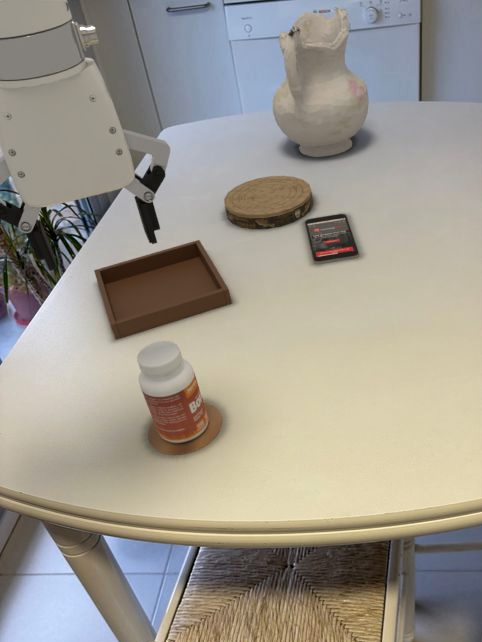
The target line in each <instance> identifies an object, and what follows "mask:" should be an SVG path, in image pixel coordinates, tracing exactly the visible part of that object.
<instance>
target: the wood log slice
mask: <svg viewBox="0 0 482 642" xmlns="http://www.w3.org/2000/svg"><path fill="white" fill-rule="evenodd" d="M312 192H313V191H312V188H311V184H310V183H308V182H307V181H306V180H305V179H302V178H299V177H295V176H290V175H270V176H269V175H268V176H265V177H264V176H263V177H257V178H254V179H250V180H247V181H245V182H243V183H241V184H238V185H237V186H234V187H233V188H232V189H231V190H229V191H228V192H227V194H226V195H225V196H224V198H223V202H224V208H225V213H226V217H227V220H228V221H229V222H230V223H231V225H235V227H236V226H237V227H239V228H241V229H248V230H270V229H276V228H281V227H284V226H288V225H290V224H293V223H296V222H297V221H299V220H301V219H303V218H305V216H306V215H308V214H309V213H310V212H311V211H312V208H313V205H314V201H313V193H312Z"/></svg>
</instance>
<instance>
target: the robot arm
mask: <svg viewBox="0 0 482 642" xmlns="http://www.w3.org/2000/svg"><path fill="white" fill-rule="evenodd" d="M98 44H100V42H99V37H98V34H97V31H96V27H95V24H88V25H84V24H83V23H82V24H79V23H78V21H74V19H73V16H72V12H71V9H70V6H69V3H68V0H0V150H1V152H2V156H1V157H0V186H2V185H3V184H4V183H5V182H6V181H7V180H8V179H9V178H11V180H12V182H13V184H14V187H15V189H16V191H17V194H18V195H19V197H20V199H21V202H20V204H19V206H17V205H16V204H14V203H12V202H9V201H7V200H5V199H3V198H1V197H0V220H1V221H3V222H5V223H6V224H7V223H8V224H9V225H11V226H14V227H16V228H18V229H19V230H20V232H22V233H23V234H25V235H26V237H27V239H28V242H29V245H30V246H31V249H32V251H33V253H34V256H35V257H36V260H37V262H39V261H43V260H44V261H45V264H46V266H47V268H48V270H49V272H52V271H55V270H56V269H57V268H58V266H57V260H56V255H55V253H54V251H53V248H52V246H51V243H50V240H49V239H48V236H47V233H46V230H45V228H44V226H43V223H42V221H41V219H38V218H39V215H40V213H41V211H42V208H46V207H52V206H56V205H57V206H58V205H61V204H65V203H70V202H75V201H78V200H82V199H86V198H91V197H94V196H98V195H102V194H106V193H111V192H114V191H117V190H121V189H123V188H124V189H125V190H127V191H128V192H129V193H131V194H132V195H134V201H135V204H136V208H137V211H138V214H139V217H140V221H141V225H142V227H143V230H144V233H145V236H146V238H147V240H148V242H149V244H152V245H155V244H158V239H157V237H156V233H155V231H159V230H161V226H160V225H161V224H160V222H159V218H158V215H157V211H156V208H155V204H154V201H155V199H156V194H157V192H158V190H159V188H160V187H161V185H162V184H163V182H164V180H165V178H166V170H167V167H168V163H169V160H170V154H171V147H170V145H169V143H168V142H167V141H166V140H164V139H161V138H157V137H153V136H149V135H146V134H143V133H139V132H136V131H132V130H128V129H124V128H122V124H121V121H120V118H119V116H118V113H117V110H116V107H115V105H114V101H113V100H112V97H111V95H110V92H109V90H108V87H107V84H106V82H105V80H104V78H103V75H102V73H101V71H100V69H99V67H98V65H97V63H96V61H95V59H93V58H91V57H86V56H85V54H84V53H86V52H87V48H91V46H93V45H98ZM130 150H133V151H136V152H140V153H144V154H147V155H150V156H151V159H150V161H151V162H150V164H149V166H148V167H147V169H146V171H145V173H144V175H143V176H141V175H139V174H138V173H136V172H135V167H134V162H133V159H132V155H131V151H130Z"/></svg>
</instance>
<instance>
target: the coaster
mask: <svg viewBox="0 0 482 642" xmlns="http://www.w3.org/2000/svg"><path fill="white" fill-rule="evenodd" d="M204 405H205V408H206V411H207V415H208V425H207V427H206V429H205V430H204V431H203V433H201V434H200V435H199V436H198V437H196V438H194V439H192V440H190V441H187V442H182V443H173V442H169V441H166V440H165V439H163V438H162V437H161V436H160V435H159V433H158V431H157V428H156V426H155V423H154V421H153V420H152V421H151V423H150V425H149V427H148V431H147V439H148V441H149V444H150V445H151V447H152V448H153V449H154V450H156V451H157V452H159V453H161V454H165V455H169V456H180V455H181V456H182V455H188V454H191V453H194V452H197V451H200V450H201V449H203V448H205V447H206V446H208V445H209V444H211V443H212V442H213V441H214V440H215V439H216V438H217V437H218V435H219V434H220V432H221V430H222V427H223V418H222V414H221V412H220V411H219V410H218V409H217V408H216V407H215V406H213V405H212V404H210V403H208V402H204Z"/></svg>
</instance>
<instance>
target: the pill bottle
mask: <svg viewBox="0 0 482 642" xmlns="http://www.w3.org/2000/svg"><path fill="white" fill-rule="evenodd" d="M136 361H137V364H138V366H139V369H140V373H139V375H138V384H139V388H140V391H141V392H142V395H143V398H144V400H145V402H146V405H147V408H148V410H149V413H150V415H151V418H152V421H154V423H155V426H156V428H157V431H158V433H159V435H160V436H161V437H162V438H163V439H165V440H166V441H169V442H173V443H182V442H187V441H190V440H192V439H194V438H196V437H198V436H199V435H200V434H201V433H203V431H204V430H205V429H206V427H207V425H208V415H207V411H206V408H205V405H204V403H205V402H204V399H203V396H202V393H201V389H200V385H199V383H198V380H197V377H196V374H195V371H194V368H193V366H192V364H191V363H190V361H188V360H187V359H186V358H184V357H183V354H182V352H181V349H180V346H179V345H178V344H177V343H176V342H173V341H170V340H160V341H155V342H152V343H150V344H148V345H145V346H144V347H143V348H142V349H140V350H139V352H138V353H137V356H136Z"/></svg>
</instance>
